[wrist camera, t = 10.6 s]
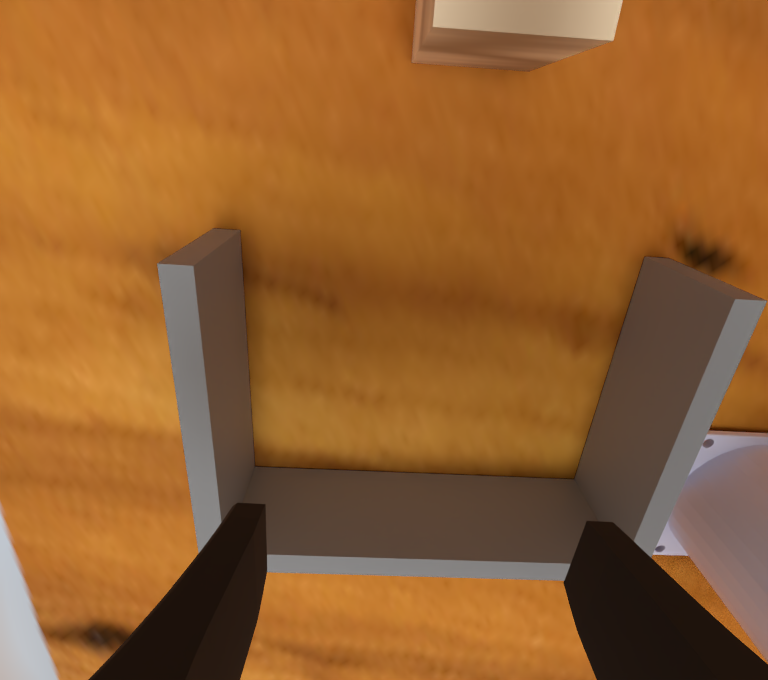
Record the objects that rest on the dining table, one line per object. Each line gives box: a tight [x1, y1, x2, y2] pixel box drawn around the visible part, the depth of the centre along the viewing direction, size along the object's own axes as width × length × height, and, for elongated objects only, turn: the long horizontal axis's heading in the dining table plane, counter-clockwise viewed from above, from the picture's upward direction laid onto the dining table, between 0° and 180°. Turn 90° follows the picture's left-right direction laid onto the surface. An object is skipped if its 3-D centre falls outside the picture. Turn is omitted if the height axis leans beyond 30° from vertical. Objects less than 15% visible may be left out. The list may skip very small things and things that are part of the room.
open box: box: [157, 228, 767, 581], centre depth 18 cm, size 18×12×5 cm
